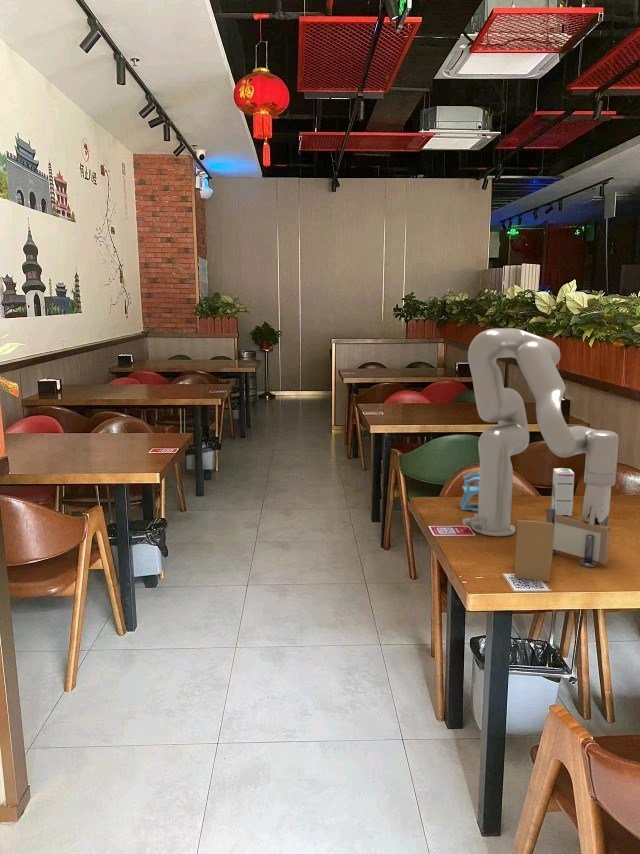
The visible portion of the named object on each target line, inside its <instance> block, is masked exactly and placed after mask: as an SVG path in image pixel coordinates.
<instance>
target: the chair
mask: <svg viewBox="0 0 640 854" xmlns="http://www.w3.org/2000/svg"><path fill="white" fill-rule="evenodd" d="M462 478H463V480H464V483H463V485H462V486H461V487H462V490H463V494H462V498H461V501H460V505H459V508H460V511H467V510H472V511H471V512H477V511H478V503H479V502H478V503H477V502H475V503H469V502H470V500H471V499H472V498H473V497H474V496H475V495H479V483H480V473H473V472H472V473H470V474H468V475H465V476H462ZM473 482H477V483H478V485H470V483H473ZM475 506H477V507H475Z"/></svg>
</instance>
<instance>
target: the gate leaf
mask: <svg viewBox="0 0 640 854" xmlns="http://www.w3.org/2000/svg"><path fill="white" fill-rule="evenodd" d="M554 522H555V526H554V540H553V549H555V550H558V552H559V551H560V552H562V553H566V554H569V555H574V556H577V557H581V558H582V559H584V553H585V541H586V535H587V534H590V535H594V546H593V558H592V561H595V562H598V563H601V564H604V565H606V564H607V563H608V560H609V558H608V557H609V549H610V536H611V529H612V528H611V526H604V525H600V524H595V525H589V521H587V520H582V519H579V518H575V517H574V518H573V517H571V516H562V515H555V516H554Z"/></svg>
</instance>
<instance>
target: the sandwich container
mask: <svg viewBox="0 0 640 854" xmlns="http://www.w3.org/2000/svg"><path fill="white" fill-rule="evenodd" d="M553 531H554V524H553V523H546V521H545V522H544V521H537V520H521V519H520V520H519V519H517V522H516V539H515V541H516V542H515V544H516V545H515V559H514V560H515V561H514V562H515V563H514V578H517V579H518V578H519V579H525V580H534V581H541V582H548V581H549V582H550V579H551V578H550V577H551V569H552V560H553V554H552V550H553Z"/></svg>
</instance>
